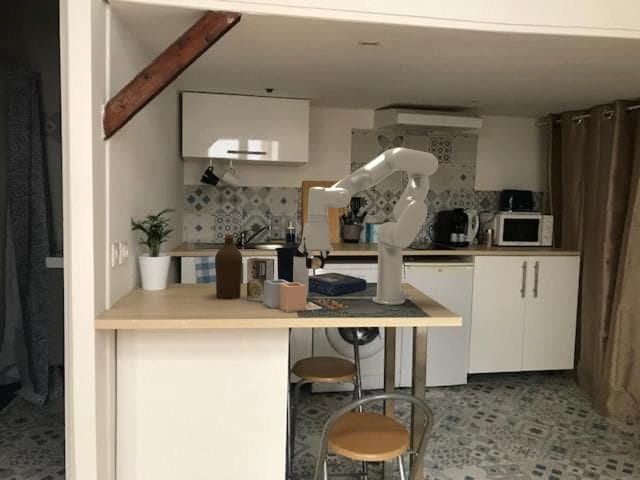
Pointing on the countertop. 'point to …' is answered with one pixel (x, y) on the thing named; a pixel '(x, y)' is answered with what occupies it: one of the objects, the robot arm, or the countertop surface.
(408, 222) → the robot arm
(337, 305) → the speckled flat slab
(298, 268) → the travel mug
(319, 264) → the beech ball
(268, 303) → the grey square pot
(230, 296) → the olive oil
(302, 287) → the pink square planter
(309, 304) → the card
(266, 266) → the coffee box
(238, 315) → the countertop surface
